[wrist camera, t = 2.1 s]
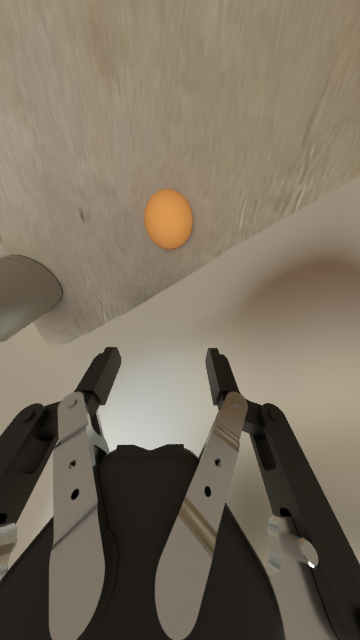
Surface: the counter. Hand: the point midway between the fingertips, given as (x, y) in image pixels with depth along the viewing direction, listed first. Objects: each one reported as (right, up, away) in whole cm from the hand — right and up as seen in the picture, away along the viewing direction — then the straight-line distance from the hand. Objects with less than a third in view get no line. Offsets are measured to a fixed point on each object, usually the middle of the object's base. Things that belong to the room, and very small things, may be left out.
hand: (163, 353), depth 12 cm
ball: (0, +15, +5) cm, 16 cm away
